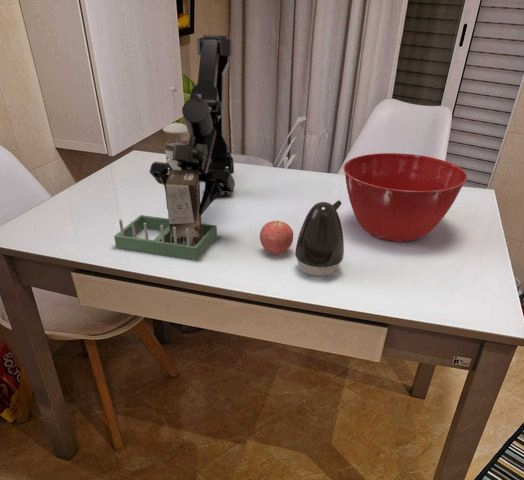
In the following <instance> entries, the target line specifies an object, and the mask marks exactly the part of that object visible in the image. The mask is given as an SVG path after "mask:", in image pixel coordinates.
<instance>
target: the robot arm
mask: <svg viewBox="0 0 524 480" xmlns="http://www.w3.org/2000/svg"><path fill="white" fill-rule="evenodd" d="M196 51H197V56H199V58H200V59H199V65H198V75H197V82H196V83H197V84H196V85H194V87H193V88H191V90H190V94H189V99H187V100H186V101H185V102H184V104H183V105H182V109H181V112H182V117H183V119H184V123H185V125H186V126H187V130H188V132H187V133H188V134H189V137H188V139H187V141H188V144H187V145H186V144H185V145H174V148H173V150H172V152H173V159H172V160H173V161H178V163H177V165H178V167H181V168H182V169H181V170H199V181H200V183H204V191H203V194H202V197H201V200H200V201H201V204H200V208H199V215H201V216H203V214H204V213H205V212H206V211H207V209H208V208H209V207H210V205H211V204H212V203H214V201H215V200H217V199H218V198H229V197H231V194H232V193H234V190H235V186H236V181H235V179H234V177H233V175H232V174H234V173H235V165H234V157H232V153H231V151H230V147H229V144H228V141H227V139H226V138H225V137H224V110H225V109H224V80H225V79H224V76H225V74H226V72H227V71H228V69H229V67H230V64H231V58H232V57H233V41H232V39H228V35H225V34H224V35H222V34H221V35H220V34H203V35H202V37H199V38H198V37H197V38H196ZM171 170H173V169H172V167H171V166H170V163H166V162H161V161H154V162H152V164H151V165H150V168H149V173H150V175H151V176H152V177H153V178H154V180H155V181H156V182H157V183H158V184H160V185H163V187H164V192H165V201H166V203H167V193H166V182H167V180H168V177H169V175H170V172H171ZM230 193H231V194H230ZM166 209H167V210H168V205H167V204H166Z"/></svg>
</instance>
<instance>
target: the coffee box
mask: <svg viewBox="0 0 524 480" xmlns="http://www.w3.org/2000/svg"><path fill="white" fill-rule="evenodd" d="M200 185H201V182H200V181H199V170H171V172H170V175H169V177H168V180H167V182H166V193H167V202H166V206H167V205H168V209H167V215H168V219H169V228H170V239H171V243H174V234H173V227H176V236H177V244H182V245H187V239H186V229H189V242H190V246H195V245H196V244H197V243H198V242H199V241H200V240H201V239H202V237H203V236H202V215H199V208H200V204H201V201H202V200H201V186H200ZM166 193H165V194H166Z"/></svg>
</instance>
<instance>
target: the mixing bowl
mask: <svg viewBox="0 0 524 480" xmlns="http://www.w3.org/2000/svg"><path fill="white" fill-rule="evenodd" d="M343 172H344V175H345V184H346V191H347V194H348V200H349V203H350V206H351V208H352V211H353V214H354V216H355V218H356V221H357V222H358V225H359V226H360V227H361V228H362V229H363V230H365V232H367V233H368V234H369V235H371V236H372V237H374V238H377V239H379V240H382V241H386V242H393V243H408V242H412V241H416V240H418V239H420V238H422V237H424V236H426V235H428V234H429V233H431V231H433V230H434V229H435V228H436V227H437V225H439V224H440V223H441V221H442V220H443V219H444V217H445V216H446V214H447V213H448V212H449V211H450V209H451V207H452V206H453V204H454V203H455V201H456V199H457V197H458V195H459V193H460V192H461V190H462V188H463V186H464V184H465V183H466V182H467V180H468V174H467V173H466V171H465V170H464V169H463V168H461V167H460V166H458V165H456V164H455V163H452V162H449V161H446V160H444V159H439V158H437V157H431V156H426V155H420V154H414V153H413V154H412V153H399V152H383V153H381V152H380V153H370V154H364V155H359V156H356V157H353V158H350V159H348V160H347V161H346V162H345V163H344V165H343Z"/></svg>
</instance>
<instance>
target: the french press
mask: <svg viewBox="0 0 524 480" xmlns="http://www.w3.org/2000/svg"><path fill="white" fill-rule="evenodd" d="M169 91H170V92H171V93H172V98H173V99H172V100H175V92H178V91H177V88H176V87H175V86H170V88H169ZM175 103H176V102H175V101H173V110H174V112H176V105H175ZM162 131H163V132H164V133H166V134H169V135H170V134H171V135H176V136H179V137H180V139H178V138H176V139H172V140H171V139H170V140H168V141H166V142H165V146H166V147H165V148H164V151H165V163H169V164H170V166H171V167H172V169H173V170H181V169H182V168H181V167H178V165H177V163H178V161H173V160H172V159H173V148H174V145H185V144H186V145H187V144H188V137H187V133H189V132H188V130H187V126H186V124H184V123H181V122H177V117H176V113H174V122H172V123H170V124H167V125H165V126H164V127H163V128H162ZM184 135H185V140H183V139H182V138H183V136H184Z"/></svg>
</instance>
